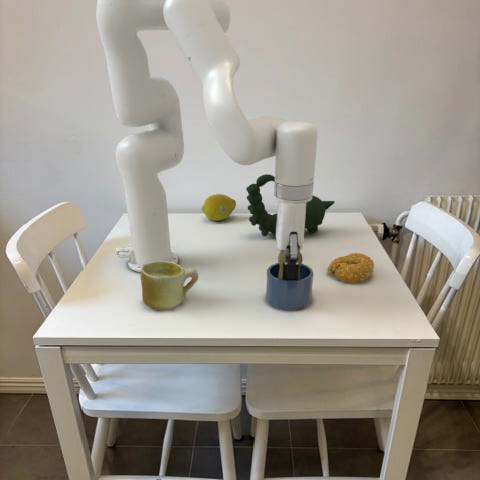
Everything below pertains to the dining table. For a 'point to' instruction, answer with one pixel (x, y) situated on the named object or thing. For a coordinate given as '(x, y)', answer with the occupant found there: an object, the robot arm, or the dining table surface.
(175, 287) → the mug
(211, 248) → the dining table surface
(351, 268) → the bagel
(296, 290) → the crock
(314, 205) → the toy figurine
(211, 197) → the lemon
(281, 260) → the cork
